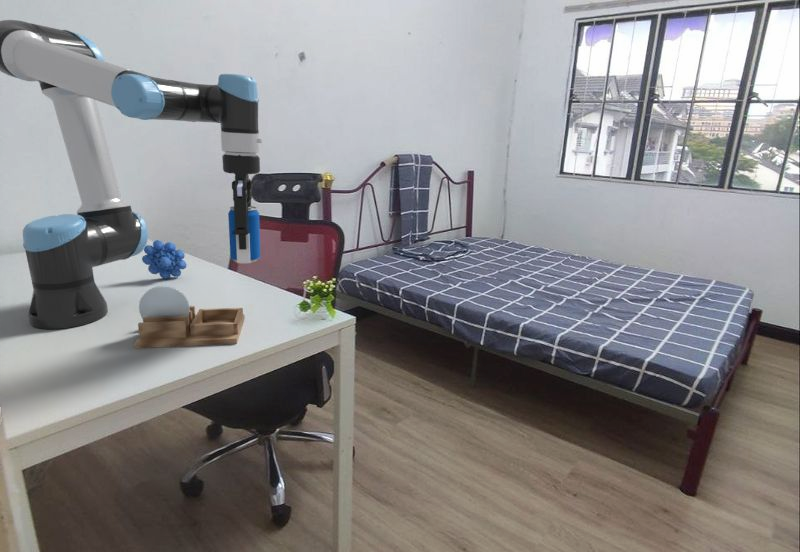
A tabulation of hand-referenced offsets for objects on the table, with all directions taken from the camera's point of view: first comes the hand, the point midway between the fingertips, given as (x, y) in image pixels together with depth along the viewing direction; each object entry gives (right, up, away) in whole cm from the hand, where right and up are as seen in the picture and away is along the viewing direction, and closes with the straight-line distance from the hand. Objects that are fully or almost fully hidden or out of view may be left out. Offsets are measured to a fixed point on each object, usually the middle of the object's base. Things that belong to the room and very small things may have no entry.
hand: (245, 258), depth 105 cm
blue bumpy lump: (-35, -5, +33) cm, 49 cm away
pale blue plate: (-16, -16, -3) cm, 23 cm away
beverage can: (0, -1, 0) cm, 1 cm away
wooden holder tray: (-11, -17, -1) cm, 20 cm away
